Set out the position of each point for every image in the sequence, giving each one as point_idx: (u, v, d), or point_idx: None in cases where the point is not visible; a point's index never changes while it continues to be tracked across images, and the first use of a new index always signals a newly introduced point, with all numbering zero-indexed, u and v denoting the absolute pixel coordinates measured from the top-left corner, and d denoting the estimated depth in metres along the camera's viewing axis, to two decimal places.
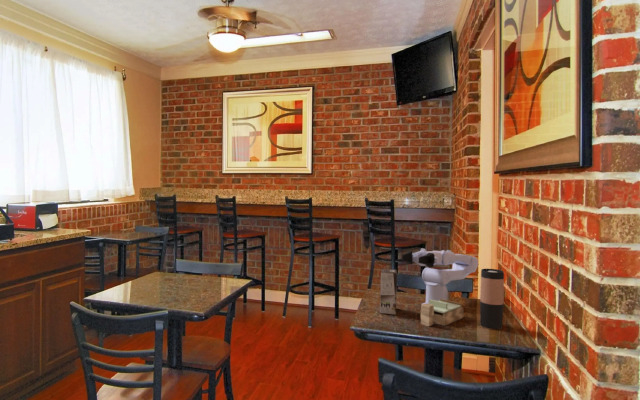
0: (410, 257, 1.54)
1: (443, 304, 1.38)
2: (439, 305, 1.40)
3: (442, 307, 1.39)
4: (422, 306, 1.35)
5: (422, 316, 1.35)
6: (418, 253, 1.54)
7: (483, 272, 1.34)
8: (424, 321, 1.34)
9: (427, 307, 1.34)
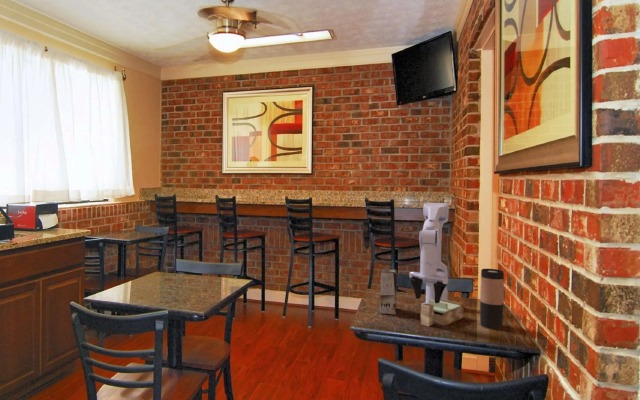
0: (418, 283, 1.38)
1: (443, 304, 1.38)
2: (439, 305, 1.40)
3: (442, 307, 1.39)
4: (422, 306, 1.35)
5: (422, 316, 1.35)
6: None
7: (483, 272, 1.34)
8: (424, 321, 1.34)
9: (427, 307, 1.34)
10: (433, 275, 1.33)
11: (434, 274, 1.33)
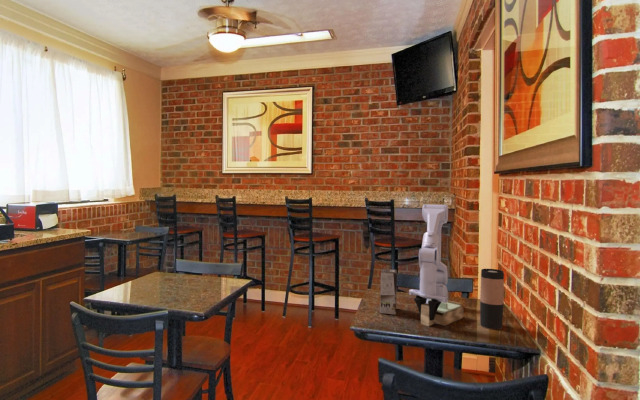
0: (423, 302, 1.37)
1: (443, 304, 1.38)
2: (439, 305, 1.40)
3: (442, 307, 1.39)
4: (422, 306, 1.35)
5: (422, 316, 1.35)
6: None
7: (483, 272, 1.34)
8: (424, 321, 1.34)
9: (427, 307, 1.34)
10: (433, 293, 1.33)
11: (434, 292, 1.33)
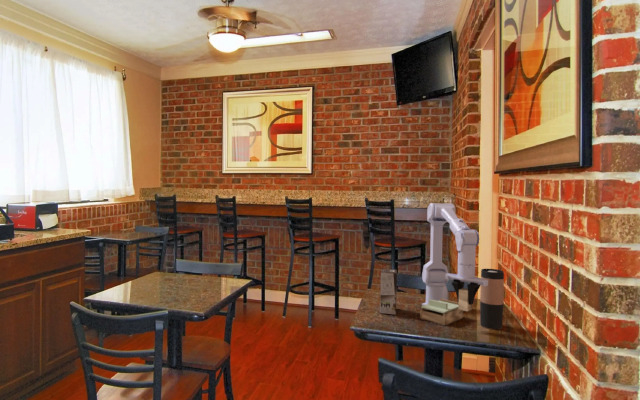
0: (461, 286, 1.33)
1: (443, 304, 1.38)
2: (439, 305, 1.40)
3: (442, 307, 1.39)
4: (460, 291, 1.31)
5: (460, 301, 1.31)
6: (458, 278, 1.32)
7: (483, 272, 1.34)
8: (463, 306, 1.31)
9: (465, 292, 1.30)
10: (472, 277, 1.29)
11: (473, 276, 1.30)
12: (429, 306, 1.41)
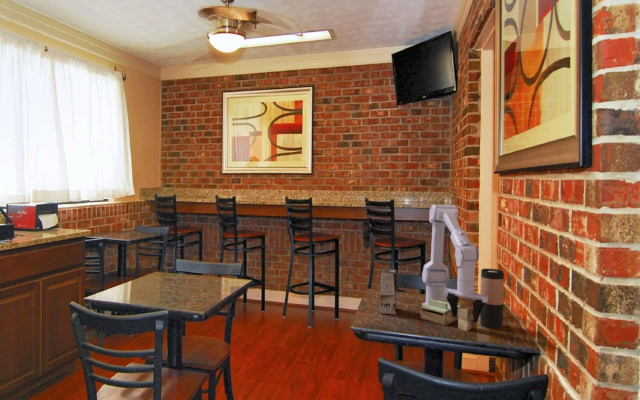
0: (455, 300, 1.35)
1: (443, 304, 1.38)
2: (439, 305, 1.40)
3: (442, 307, 1.39)
4: (459, 310, 1.31)
5: (459, 320, 1.31)
6: None
7: (483, 272, 1.34)
8: (462, 326, 1.31)
9: (465, 311, 1.30)
10: (471, 293, 1.29)
11: (472, 292, 1.30)
12: (429, 306, 1.41)
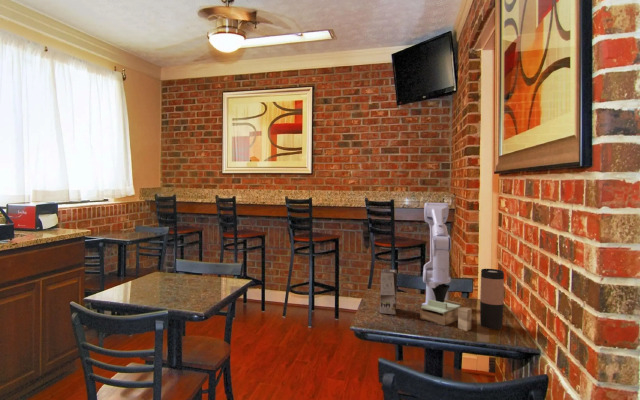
0: (440, 289, 1.42)
1: (442, 304, 1.38)
2: (438, 305, 1.39)
3: (441, 307, 1.38)
4: (459, 310, 1.31)
5: (459, 320, 1.31)
6: None
7: (483, 272, 1.34)
8: (462, 326, 1.31)
9: (465, 311, 1.30)
10: (435, 279, 1.40)
11: (436, 278, 1.40)
12: (428, 306, 1.41)
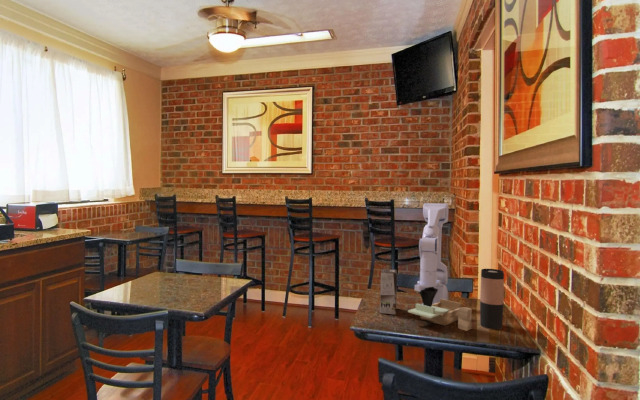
0: (428, 292, 1.36)
1: (430, 308, 1.32)
2: (426, 309, 1.33)
3: (429, 312, 1.32)
4: (459, 310, 1.31)
5: (459, 320, 1.31)
6: None
7: (483, 272, 1.34)
8: (462, 326, 1.31)
9: (465, 311, 1.30)
10: (421, 282, 1.34)
11: (422, 281, 1.34)
12: (416, 310, 1.35)
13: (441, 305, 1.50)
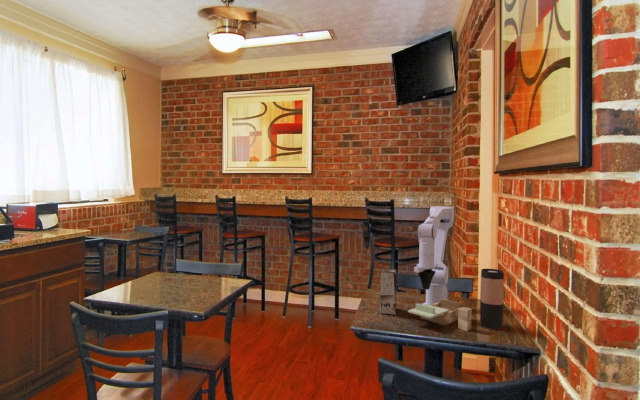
0: None
1: (430, 308, 1.32)
2: (426, 309, 1.33)
3: (429, 312, 1.32)
4: (459, 310, 1.31)
5: (459, 320, 1.31)
6: None
7: (483, 272, 1.34)
8: (462, 326, 1.31)
9: (465, 311, 1.30)
10: (420, 264, 1.47)
11: (421, 264, 1.46)
12: (416, 310, 1.35)
13: (441, 305, 1.50)
